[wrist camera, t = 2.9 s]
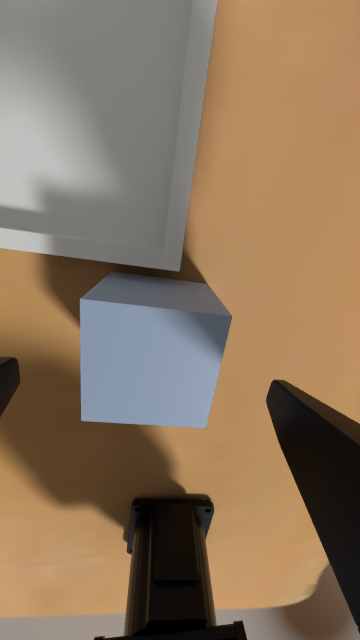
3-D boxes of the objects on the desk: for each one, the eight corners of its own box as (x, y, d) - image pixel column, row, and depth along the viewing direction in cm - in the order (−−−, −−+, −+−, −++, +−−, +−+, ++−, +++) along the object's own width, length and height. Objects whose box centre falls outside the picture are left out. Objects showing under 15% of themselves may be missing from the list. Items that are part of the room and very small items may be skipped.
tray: (177, 266, 12) (179, 271, 11) (-73, 232, 11) (-108, 233, 9) (224, -79, 8) (237, -143, 7) (-171, -199, 7) (-258, -311, 5)
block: (192, 363, 14) (205, 428, 10) (108, 356, 14) (81, 420, 9) (207, 283, 13) (232, 316, 8) (111, 271, 12) (80, 298, 7)
